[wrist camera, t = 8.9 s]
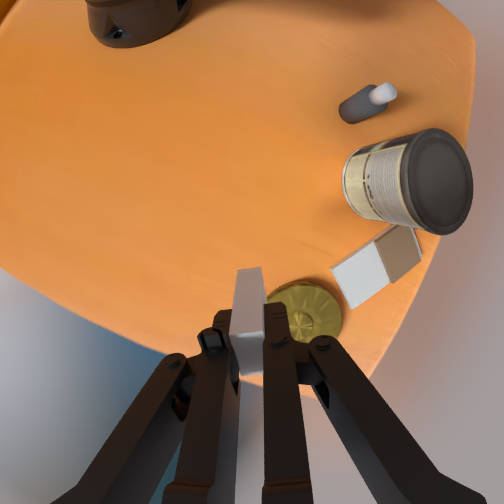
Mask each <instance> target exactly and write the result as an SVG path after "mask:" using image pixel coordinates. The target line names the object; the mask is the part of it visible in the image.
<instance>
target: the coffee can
mask: <svg viewBox="0 0 504 504" xmlns="http://www.w3.org/2000/svg"><path fill="white" fill-rule="evenodd" d="M342 189H343V193H344V196H345V198H346V200H347V202H348V204H349V205H350V207H351V208H352V209H353V210H354V211H355V212H356V213H357V214H359V215H360V216H362V217H364V218H366V219H370V220H378V221H383V222H388V223H392V224H398V225H402V226H407V227H411V228H415V229H420V230H425V231H428V232H430V233H432V234H436V235H447V234H450V233H453V232H454V231H456V230H457V229H458V228H459V227H460V226H461V225H462V224H463V223H464V221H465V220H466V218H467V216H468V213H469V211H470V208H471V204H472V199H473V178H472V172H471V167H470V164H469V161H468V158H467V156H466V154H465V152H464V150H463V148H462V147H461V145H460V144H459V143H458V142H457V140H456V139H455V138H454V137H453V136H451V135H450V134H449V133H447V132H445V131H443V130H440V129H434V128H431V129H427V130H423V131H421V132H419V133H416V134H412V135H408V136H404V137H400V138H396V139H392V140H389V141H385V142H381V143H378V144H374V145H370V146H366V147H362V148H359V149H357V150H356V151H354V152H353V153H352V154H351V155H350V156H349V157H348V159H347V161H346V163H345V165H344V168H343V172H342Z"/></svg>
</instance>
